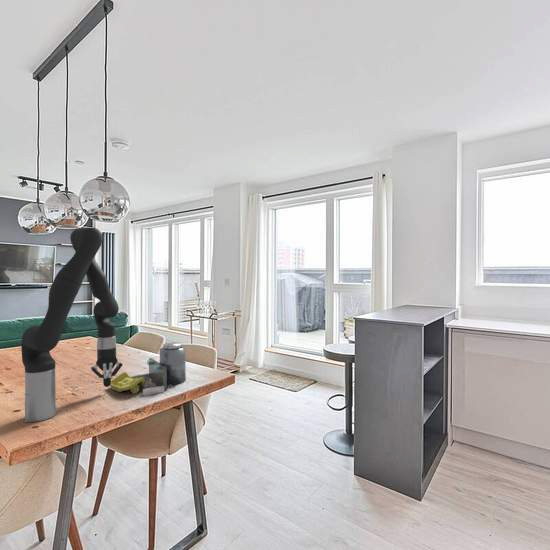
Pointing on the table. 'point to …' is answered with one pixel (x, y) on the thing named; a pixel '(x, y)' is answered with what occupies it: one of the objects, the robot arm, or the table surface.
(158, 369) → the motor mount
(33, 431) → the table surface
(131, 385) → the plastic component
